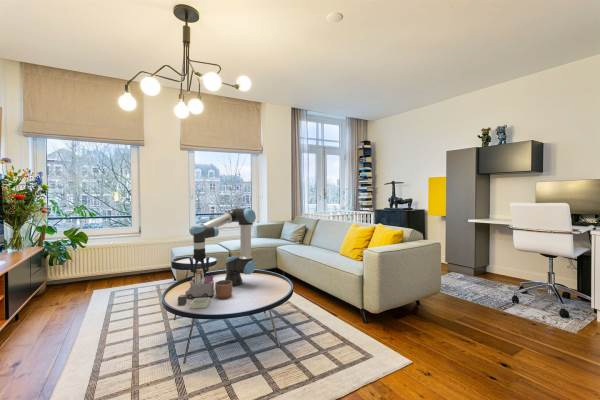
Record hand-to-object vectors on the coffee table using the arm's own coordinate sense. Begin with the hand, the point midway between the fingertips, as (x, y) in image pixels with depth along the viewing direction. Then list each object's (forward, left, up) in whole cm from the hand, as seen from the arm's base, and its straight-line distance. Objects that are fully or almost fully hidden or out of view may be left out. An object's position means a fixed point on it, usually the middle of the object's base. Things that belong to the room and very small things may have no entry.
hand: (199, 281), depth 198 cm
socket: (0, -8, -17) cm, 19 cm away
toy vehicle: (+5, -17, -17) cm, 25 cm away
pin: (+1, 0, -4) cm, 4 cm away
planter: (-13, -16, -17) cm, 26 cm away
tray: (0, 0, -17) cm, 17 cm away
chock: (+13, -4, -17) cm, 22 cm away
